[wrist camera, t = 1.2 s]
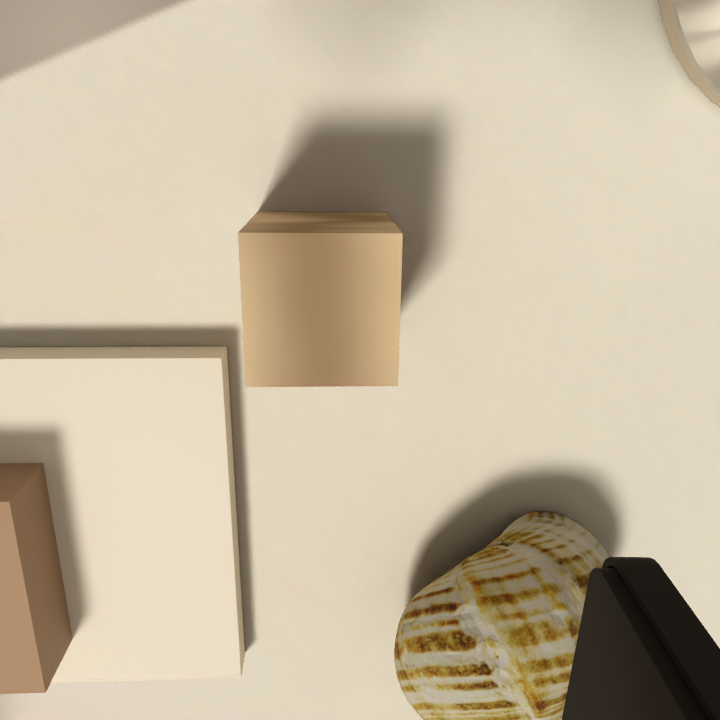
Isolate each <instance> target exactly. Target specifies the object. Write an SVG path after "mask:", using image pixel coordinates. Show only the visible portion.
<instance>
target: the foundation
mask: <svg viewBox="0 0 720 720" xmlns="http://www.w3.org/2000/svg"><path fill="white" fill-rule="evenodd" d="M244 657H245V646H244V629H243V612H242V595H241V578H240V561H239V544H238V527H237V510H236V493H235V476H234V459H233V442H232V425H231V408H230V391H229V374H228V357H227V346H213V347H0V694H12V693H46V691H47V689H48V687H49V685H50V683H62V682H98V681H134V680H170V679H205V678H241V675H242V669H243V663H244Z"/></svg>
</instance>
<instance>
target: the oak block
mask: <svg viewBox="0 0 720 720" xmlns="http://www.w3.org/2000/svg"><path fill="white" fill-rule="evenodd" d="M238 240H239V260H240V280H241V301H242V321H243V341H244V362H245V382H246V387H309V386H398V367H399V337H400V306H401V276H402V246H403V233H402V232H401V230H400V229H399V228H398V227H397V225H396V224H395V223H394V222H393V220H392V219H391V218H390V216H389V215H388V214H387V213H386V212H280V211H258V212H257V213H256V214H255V215H254V216H253V217H252V218H251V219H250V221H249V222H248V223H247V224H246V225H245V226H244V227H243V228H242V229H241V230H240V231H239V232H238Z"/></svg>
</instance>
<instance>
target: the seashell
mask: <svg viewBox="0 0 720 720" xmlns="http://www.w3.org/2000/svg"><path fill="white" fill-rule="evenodd" d="M606 558H609V555H608V553H607V552H606V550H605V549H604V547H603V546H602V545H601V544H600V542H599V541H598V540H597V539H596V538H595V537H594V536H593V535H592V534H591V533H590V532H589V531H588V530H586V529H585V528H584V527H583V526H581V525H580V524H578V523H577V522H575V521H573V520H572V519H570V518H567V517H565V516H562V515H560V514H557V513H553V512H531V513H527V514H525V515H523V516H521V517H520V518H518V519H517V520H515V521H514V522H513V523H512V524H511V525H509V526H508V527H507V528H506V529H505V530H504V531H503V533H502V534H501V535H500V536H499V537H498V538H496V539H495V540H494V541H492V542H491V543H490V544H488V545H487V546H486V548H485V549H483V550H481V551H479V552H477V553H475V554H474V555H472V556H471V557H468V558H465V559H463V560H462V561H461V563H460V564H459V565H457V566H456V567H454V568H452V569H451V570H450V571H448V572H447V573H445V574H444V575H442V576H441V577H439V578H438V579H436V580H434V581H433V582H431V583H430V584H429V585H427V586H426V587H425V588H423V589H422V590H421V591H420V592H418V593H417V594H416V595H415V596H414V597H413V598H412V600H411V601H410V602H409V603H408V604H407V606H406V609H405V610H404V613H403V615H402V617H401V619H400V622H399V625H398V630H397V634H396V640H395V649H394V653H395V666H396V673H397V677H398V680H399V683H400V686H401V689H402V691H403V693H404V695H405V696H406V698H407V700H408V702H409V703H410V704H411V705H412V707H413V708H414V709H415V711H416V712H417V713H418V714H419V715H420V716H421V717H422V718H423V719H424V720H561V719H562V715H563V710H564V705H565V700H566V695H567V689H568V684H569V679H570V674H571V669H572V663H573V658H574V653H575V648H576V643H577V638H578V632H579V627H580V622H581V617H582V612H583V607H584V601H585V596H586V591H587V586H588V581H589V576H590V573H591V571H592V570H593V569H594V568H602V565H603V563H604V561H605V560H606Z"/></svg>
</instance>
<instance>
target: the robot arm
mask: <svg viewBox="0 0 720 720" xmlns="http://www.w3.org/2000/svg"><path fill="white" fill-rule="evenodd" d="M659 5H660V11H661V17H662V22H663V25H664V27H665V30H666V33H667V36H668V39H669V41H670V44H671V47H672V50H673V52H674V54H675V56H676V57H677V59H678V61H679V62H680V64H681V66H682V67H683V69H684V71H685V72H686V74H687V76H688V77H689V79H690V80H691V81H692V82H693V83H694V84H695V85H696V86H697V87H698V88H699V89H700V91H701V92H702V93H703V94H704V95H705V96H706V97H707V98H708V99H709V100H710V101H711V102H713V103H714V104H716V105H717V106H719V107H720V0H659ZM562 720H720V648H719V647H718V646H717V644H716V643H715V642H714V640H713V639H712V637H711V636H710V635H709V633H708V632H707V630H706V629H705V628H704V626H703V625H702V623H701V622H700V621H699V619H698V618H697V617H696V615H695V614H694V612H693V611H692V610H691V608H690V607H689V605H688V604H687V603H686V601H685V600H684V598H683V597H682V596H681V594H680V593H679V592H678V590H677V589H676V587H675V586H674V585H673V583H672V582H671V580H670V579H669V578H668V576H667V575H666V573H665V572H664V571H663V569H662V568H661V567H660V565H659V564H658V563H657V562H656V561H655V560H654V559H652V558H643V557H609V558H606V560H605V561H604V563H603V565H602V568H594V569H593V570H592V571H591V573H590V576H589V581H588V586H587V591H586V596H585V601H584V607H583V612H582V617H581V622H580V627H579V632H578V638H577V643H576V648H575V653H574V658H573V663H572V669H571V674H570V679H569V684H568V689H567V695H566V700H565V705H564V710H563V715H562Z"/></svg>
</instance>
